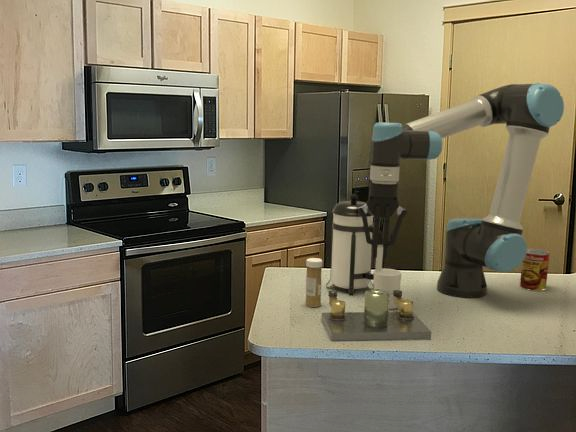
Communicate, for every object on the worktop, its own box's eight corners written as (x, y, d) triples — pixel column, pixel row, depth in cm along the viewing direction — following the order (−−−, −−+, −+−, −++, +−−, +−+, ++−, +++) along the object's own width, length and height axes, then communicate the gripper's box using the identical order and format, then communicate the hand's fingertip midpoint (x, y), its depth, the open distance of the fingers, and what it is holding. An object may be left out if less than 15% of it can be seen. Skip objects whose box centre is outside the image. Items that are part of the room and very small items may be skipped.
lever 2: (402, 304, 176) (402, 290, 175) (414, 318, 165) (415, 302, 164) (389, 305, 175) (390, 290, 175) (400, 318, 164) (401, 302, 164)
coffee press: (324, 295, 190) (328, 196, 185) (327, 281, 206) (330, 189, 201) (382, 298, 188) (387, 199, 183) (381, 284, 204) (386, 191, 199)
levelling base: (412, 318, 171) (415, 281, 170) (430, 339, 157) (433, 298, 155) (321, 319, 169) (322, 281, 167) (331, 340, 154) (332, 298, 152)
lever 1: (338, 305, 174) (338, 290, 173) (346, 319, 163) (346, 303, 162) (325, 305, 173) (325, 290, 173) (332, 319, 162) (332, 303, 162)
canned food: (515, 286, 205) (518, 250, 203) (527, 282, 210) (531, 247, 208) (538, 292, 199) (541, 255, 197) (550, 288, 204) (554, 252, 202)
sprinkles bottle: (324, 306, 180) (325, 260, 178) (311, 308, 178) (312, 262, 175) (314, 301, 184) (316, 256, 182) (301, 304, 182) (303, 258, 179)
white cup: (401, 303, 185) (403, 270, 183) (397, 311, 177) (399, 276, 176) (374, 300, 187) (376, 267, 185) (369, 307, 180) (370, 273, 178)
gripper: (359, 182, 162) (354, 272, 166) (411, 184, 161) (404, 274, 165) (358, 179, 169) (353, 265, 173) (407, 181, 169) (401, 267, 173)
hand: (378, 269), depth 169 cm, fingers closed
